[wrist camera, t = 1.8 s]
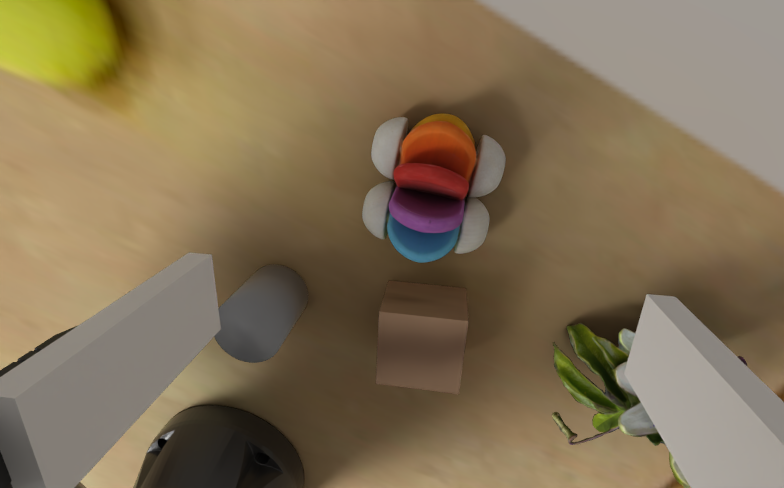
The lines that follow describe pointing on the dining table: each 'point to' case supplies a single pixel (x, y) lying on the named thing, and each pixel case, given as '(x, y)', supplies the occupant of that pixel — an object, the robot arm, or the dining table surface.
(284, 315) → the grey cylinder
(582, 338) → the passion flower
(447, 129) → the rainbow cloud toy
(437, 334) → the walnut block
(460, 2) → the dining table surface
